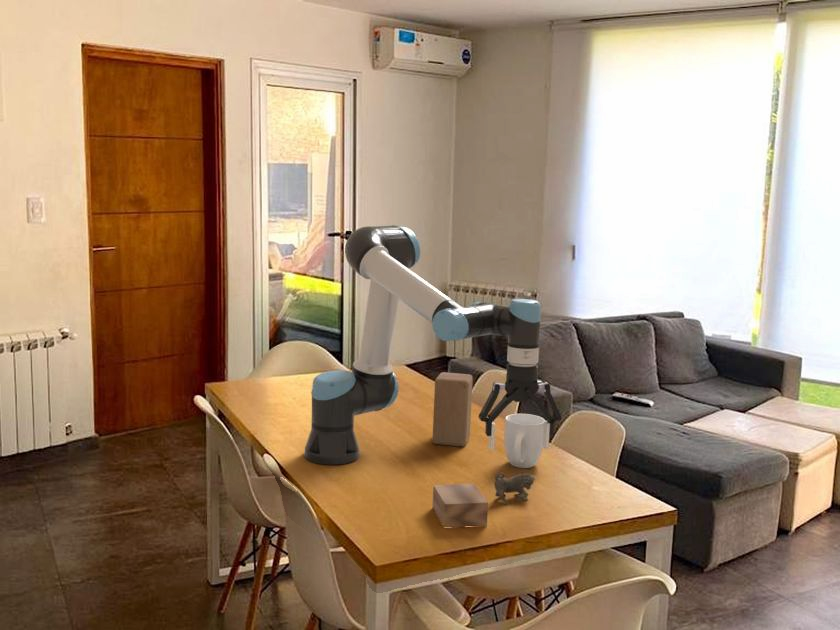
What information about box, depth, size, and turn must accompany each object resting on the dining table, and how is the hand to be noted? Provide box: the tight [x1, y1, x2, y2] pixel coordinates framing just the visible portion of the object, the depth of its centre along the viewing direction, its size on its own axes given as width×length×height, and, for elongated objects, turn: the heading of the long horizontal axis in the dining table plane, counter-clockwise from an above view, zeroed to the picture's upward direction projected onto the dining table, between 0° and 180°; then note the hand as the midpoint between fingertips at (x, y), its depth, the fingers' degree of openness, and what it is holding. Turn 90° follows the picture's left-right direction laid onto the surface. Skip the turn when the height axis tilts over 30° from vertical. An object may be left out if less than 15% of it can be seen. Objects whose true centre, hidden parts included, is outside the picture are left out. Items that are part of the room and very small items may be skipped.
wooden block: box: [431, 371, 473, 447], centre depth 255 cm, size 10×10×20 cm
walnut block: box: [432, 483, 489, 527], centre depth 199 cm, size 10×12×6 cm
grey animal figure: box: [494, 472, 535, 506], centre depth 212 cm, size 12×6×7 cm, turn 118°
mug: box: [503, 413, 546, 469], centre depth 235 cm, size 15×11×13 cm
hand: (518, 448), depth 210 cm, fingers open, 13 cm apart
